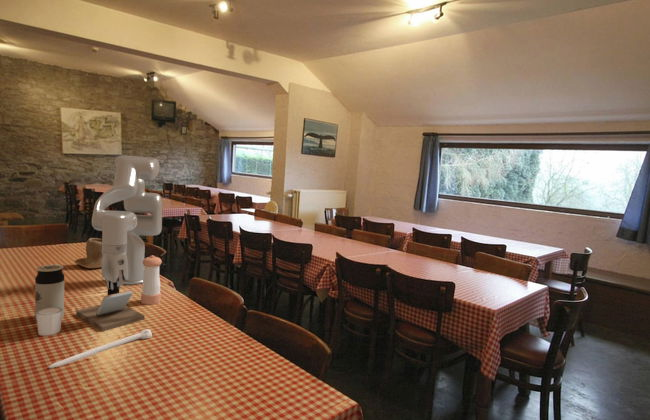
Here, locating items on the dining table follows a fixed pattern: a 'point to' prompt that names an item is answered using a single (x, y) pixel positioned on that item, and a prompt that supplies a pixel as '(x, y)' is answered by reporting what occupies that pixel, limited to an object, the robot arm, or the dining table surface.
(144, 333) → the white nail
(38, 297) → the travel mug
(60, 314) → the white cup
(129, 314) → the board
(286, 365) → the dining table surface
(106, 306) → the tile
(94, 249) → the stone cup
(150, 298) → the salt shaker
